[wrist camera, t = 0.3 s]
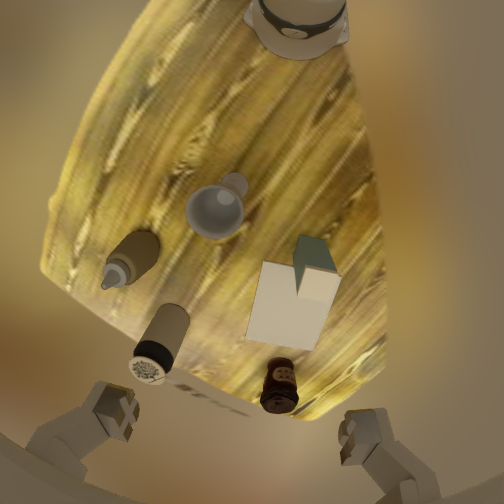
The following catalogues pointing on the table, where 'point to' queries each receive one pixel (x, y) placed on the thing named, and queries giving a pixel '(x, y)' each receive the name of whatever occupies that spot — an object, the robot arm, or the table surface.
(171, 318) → the travel mug
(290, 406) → the coffee cup
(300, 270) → the long block
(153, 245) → the squeeze bottle
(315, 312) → the mat
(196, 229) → the chalice
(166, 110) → the table surface
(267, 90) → the table surface
